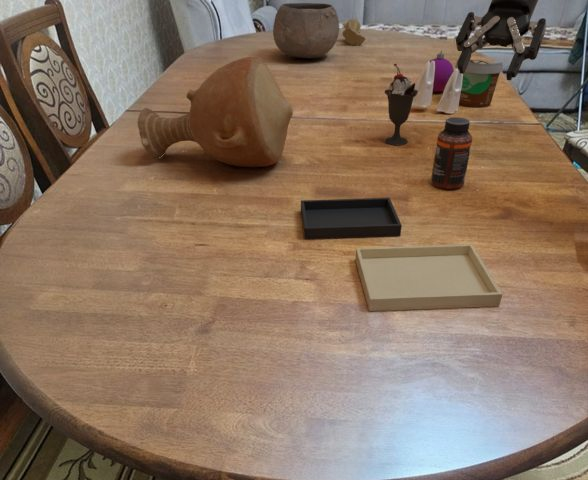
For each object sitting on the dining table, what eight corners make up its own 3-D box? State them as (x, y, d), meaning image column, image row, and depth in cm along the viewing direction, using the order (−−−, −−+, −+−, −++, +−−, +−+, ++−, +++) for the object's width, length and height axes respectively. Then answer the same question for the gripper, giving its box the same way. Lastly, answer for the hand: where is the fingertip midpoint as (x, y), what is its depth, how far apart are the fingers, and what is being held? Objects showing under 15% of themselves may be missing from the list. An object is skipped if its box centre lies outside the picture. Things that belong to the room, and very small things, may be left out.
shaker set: (407, 112, 133) (413, 62, 126) (408, 107, 136) (414, 58, 129) (457, 115, 131) (466, 64, 124) (457, 110, 134) (466, 60, 127)
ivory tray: (469, 255, 81) (472, 243, 80) (499, 306, 71) (502, 294, 70) (355, 259, 80) (356, 247, 79) (369, 311, 70) (370, 299, 69)
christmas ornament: (422, 86, 151) (427, 45, 144) (452, 88, 149) (459, 47, 142) (417, 94, 145) (422, 52, 138) (448, 96, 143) (455, 54, 136)
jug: (278, 126, 90) (112, 140, 96) (300, 186, 108) (159, 194, 114) (285, 25, 94) (126, 44, 101) (305, 99, 112) (169, 111, 119)
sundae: (378, 136, 120) (385, 60, 111) (409, 136, 120) (418, 60, 111) (381, 146, 115) (388, 69, 106) (413, 146, 115) (423, 68, 106)
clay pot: (269, 52, 184) (267, 0, 175) (329, 49, 187) (331, -3, 178) (279, 67, 169) (278, 11, 159) (345, 64, 171) (347, 8, 162)
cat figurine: (345, 27, 186) (343, 10, 192) (338, 47, 191) (336, 30, 198) (367, 34, 188) (365, 17, 194) (360, 54, 193) (357, 37, 200)
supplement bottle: (470, 184, 100) (483, 120, 93) (451, 193, 97) (463, 128, 90) (442, 175, 104) (453, 112, 96) (424, 184, 100) (433, 120, 93)
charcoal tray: (388, 208, 93) (389, 197, 92) (400, 236, 85) (401, 225, 84) (300, 210, 93) (300, 200, 91) (304, 239, 85) (304, 228, 84)
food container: (439, 101, 140) (446, 58, 133) (454, 96, 143) (461, 54, 136) (480, 112, 133) (489, 67, 126) (495, 107, 136) (504, 62, 129)
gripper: (478, -30, 96) (443, 56, 96) (562, -25, 90) (525, 66, 90) (481, 2, 103) (448, 81, 103) (560, 8, 97) (525, 92, 97)
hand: (484, 74), depth 97 cm, fingers open, 8 cm apart
